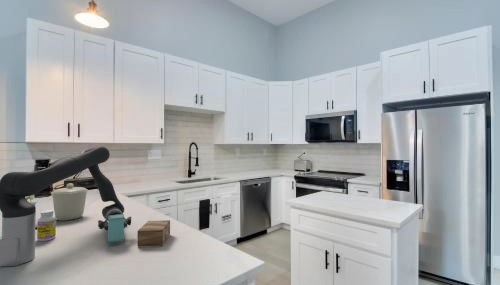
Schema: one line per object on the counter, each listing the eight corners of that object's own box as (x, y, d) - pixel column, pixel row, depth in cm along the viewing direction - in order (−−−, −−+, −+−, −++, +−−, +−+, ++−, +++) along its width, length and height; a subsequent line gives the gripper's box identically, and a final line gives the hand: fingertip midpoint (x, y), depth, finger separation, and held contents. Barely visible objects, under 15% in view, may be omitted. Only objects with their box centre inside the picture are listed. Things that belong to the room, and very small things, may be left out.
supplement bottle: (33, 242, 110) (34, 213, 111) (41, 237, 117) (42, 210, 117) (51, 240, 112) (51, 212, 112) (58, 235, 119) (58, 209, 119)
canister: (42, 221, 142) (42, 185, 142) (71, 213, 159) (72, 180, 160) (67, 223, 137) (67, 186, 138) (94, 215, 155) (95, 181, 155)
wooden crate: (162, 246, 105) (162, 229, 106) (137, 247, 105) (137, 230, 105) (170, 234, 120) (170, 220, 120) (148, 235, 119) (148, 220, 119)
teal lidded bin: (124, 240, 107) (124, 217, 108) (107, 242, 104) (108, 219, 104) (122, 235, 113) (123, 213, 113) (107, 238, 109) (107, 215, 110)
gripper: (97, 211, 117) (96, 220, 103) (130, 208, 125) (134, 215, 110) (97, 227, 117) (96, 238, 103) (130, 223, 124) (134, 232, 110)
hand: (116, 226), depth 106 cm, fingers closed on teal lidded bin, 6 cm apart
